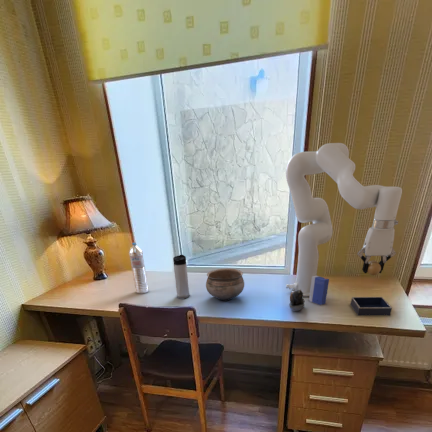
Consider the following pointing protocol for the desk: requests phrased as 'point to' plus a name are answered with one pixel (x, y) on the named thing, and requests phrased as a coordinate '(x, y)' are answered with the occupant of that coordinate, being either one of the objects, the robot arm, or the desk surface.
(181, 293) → the travel mug
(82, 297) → the desk surface
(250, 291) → the desk surface
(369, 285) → the desk surface
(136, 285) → the water bottle
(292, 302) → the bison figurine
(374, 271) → the potato
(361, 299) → the square open-top storage box
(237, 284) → the cooking pot
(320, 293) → the walkman
